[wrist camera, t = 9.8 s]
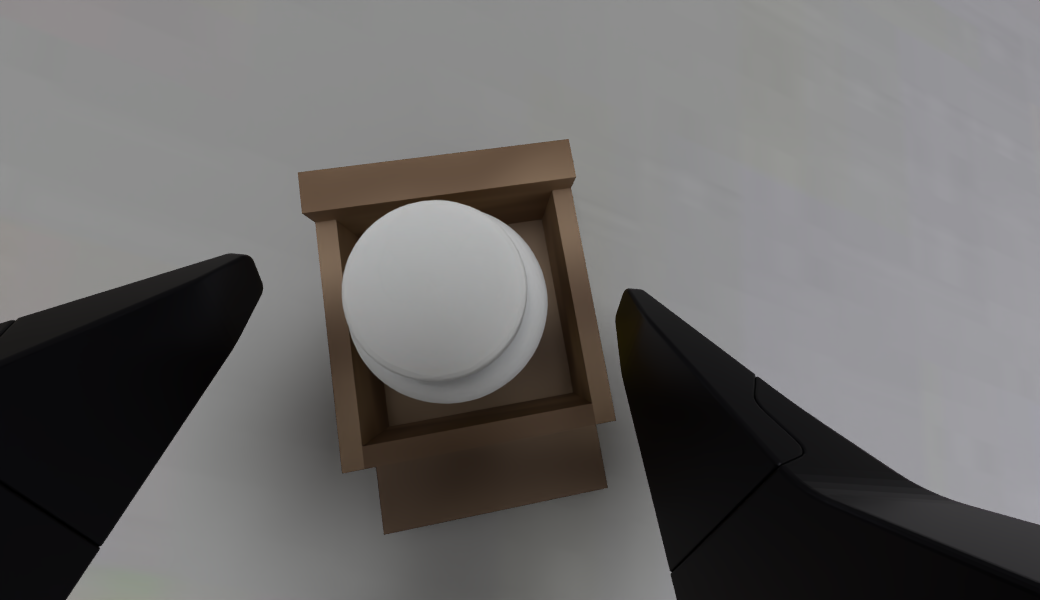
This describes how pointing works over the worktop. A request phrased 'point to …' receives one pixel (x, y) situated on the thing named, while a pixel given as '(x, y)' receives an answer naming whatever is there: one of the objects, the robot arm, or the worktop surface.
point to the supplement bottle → (443, 301)
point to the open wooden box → (503, 413)
